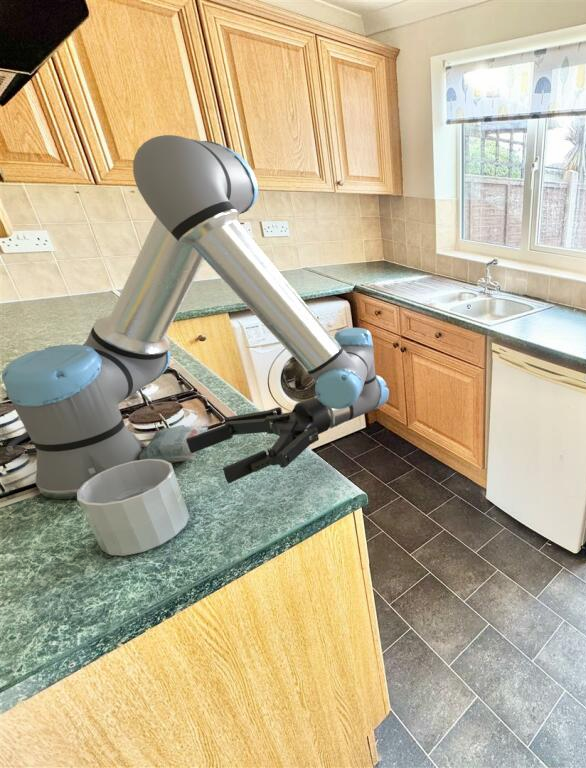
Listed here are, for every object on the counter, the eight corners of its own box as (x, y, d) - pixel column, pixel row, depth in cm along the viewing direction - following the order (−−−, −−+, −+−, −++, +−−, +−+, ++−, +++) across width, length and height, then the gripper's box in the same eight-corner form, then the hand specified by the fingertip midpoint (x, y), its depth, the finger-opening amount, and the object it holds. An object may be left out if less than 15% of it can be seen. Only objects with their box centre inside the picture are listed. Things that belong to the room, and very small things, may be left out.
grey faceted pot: (81, 555, 62) (54, 502, 57) (142, 505, 71) (123, 456, 67) (154, 560, 62) (132, 507, 57) (205, 509, 71) (189, 461, 67)
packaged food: (210, 436, 91) (205, 417, 89) (196, 468, 81) (190, 446, 79) (161, 443, 88) (154, 422, 86) (141, 476, 78) (132, 454, 76)
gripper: (361, 449, 82) (248, 509, 66) (290, 410, 94) (181, 452, 78) (357, 416, 79) (237, 470, 63) (284, 380, 91) (169, 417, 75)
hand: (206, 460), depth 71 cm, fingers open, 13 cm apart
